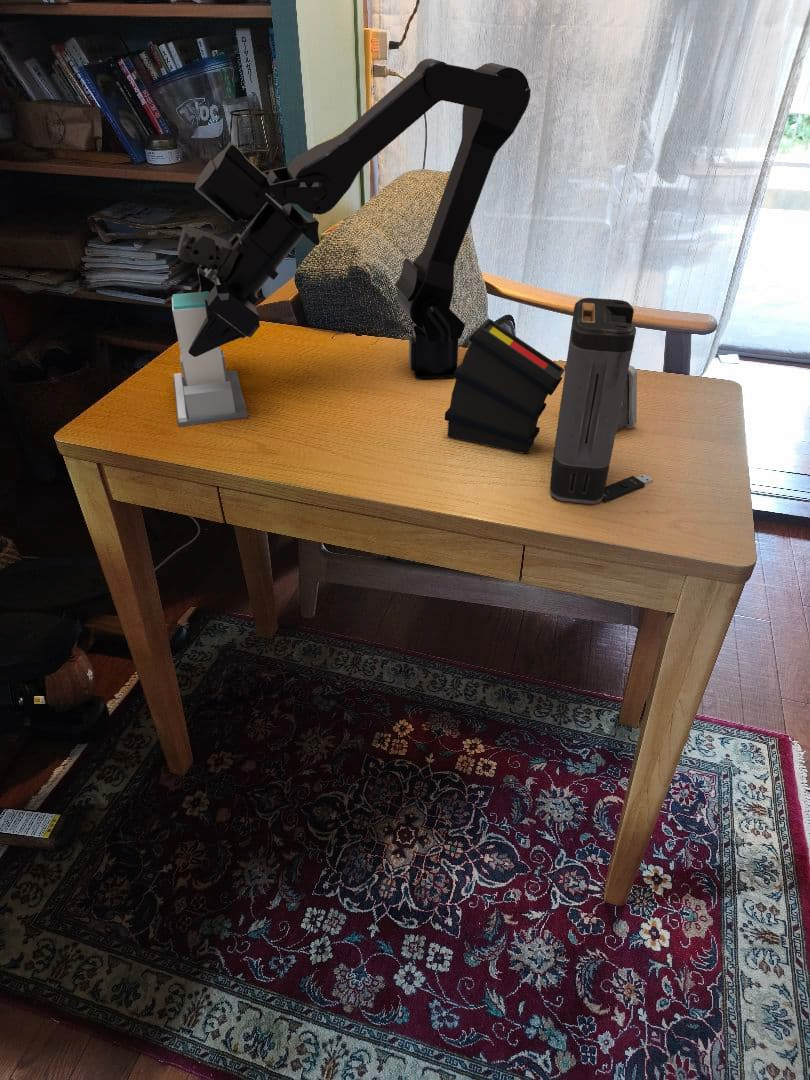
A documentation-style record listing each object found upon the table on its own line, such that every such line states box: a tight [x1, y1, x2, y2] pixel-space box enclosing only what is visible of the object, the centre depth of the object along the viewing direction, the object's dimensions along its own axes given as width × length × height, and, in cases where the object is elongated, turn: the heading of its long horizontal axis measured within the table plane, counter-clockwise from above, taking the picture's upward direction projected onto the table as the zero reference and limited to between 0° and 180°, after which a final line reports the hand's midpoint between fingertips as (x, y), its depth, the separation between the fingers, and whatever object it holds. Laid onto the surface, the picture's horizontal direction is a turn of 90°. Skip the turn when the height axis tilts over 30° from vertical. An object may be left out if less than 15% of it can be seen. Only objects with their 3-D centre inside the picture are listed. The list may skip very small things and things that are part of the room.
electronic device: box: [549, 297, 637, 505], centre depth 79 cm, size 9×6×20 cm, turn 168°
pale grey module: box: [171, 291, 225, 386], centre depth 97 cm, size 5×5×13 cm
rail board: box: [173, 349, 249, 428], centre depth 100 cm, size 9×14×4 cm, turn 16°
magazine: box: [444, 318, 565, 454], centre depth 89 cm, size 4×13×15 cm, turn 66°
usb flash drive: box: [600, 473, 654, 504], centre depth 84 cm, size 8×2×1 cm, turn 121°
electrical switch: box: [563, 364, 638, 432], centre depth 94 cm, size 9×5×9 cm, turn 38°
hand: (189, 340), depth 96 cm, fingers open, 9 cm apart
